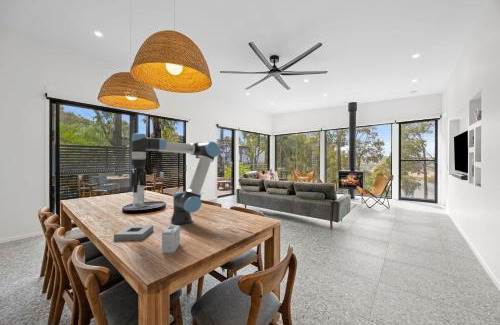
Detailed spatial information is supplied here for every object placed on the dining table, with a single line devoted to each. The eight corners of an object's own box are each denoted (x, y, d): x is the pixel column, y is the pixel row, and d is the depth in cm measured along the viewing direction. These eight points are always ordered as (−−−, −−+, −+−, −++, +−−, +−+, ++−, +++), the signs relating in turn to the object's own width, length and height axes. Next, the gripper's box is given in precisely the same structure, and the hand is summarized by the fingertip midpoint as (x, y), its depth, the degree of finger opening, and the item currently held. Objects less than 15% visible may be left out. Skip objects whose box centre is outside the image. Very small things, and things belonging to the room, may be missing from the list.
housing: (153, 231, 137) (153, 225, 137) (142, 240, 121) (142, 234, 121) (128, 231, 136) (128, 225, 136) (113, 241, 120) (113, 234, 120)
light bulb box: (167, 244, 116) (168, 225, 116) (180, 244, 117) (180, 225, 117) (161, 253, 106) (161, 232, 106) (174, 252, 106) (175, 231, 106)
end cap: (146, 204, 129) (146, 185, 129) (141, 206, 123) (141, 186, 123) (136, 204, 129) (136, 185, 129) (131, 206, 123) (131, 186, 123)
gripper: (140, 159, 135) (140, 194, 135) (123, 158, 116) (123, 199, 116) (152, 159, 135) (152, 194, 135) (137, 159, 116) (137, 200, 116)
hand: (138, 196), depth 126 cm, fingers closed on end cap, 6 cm apart
